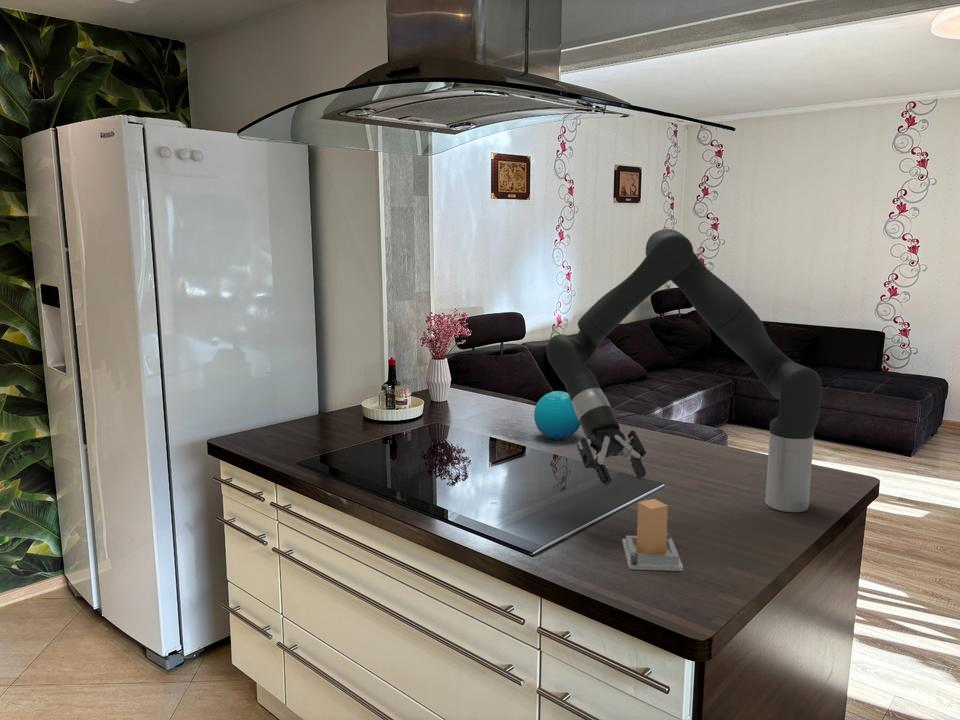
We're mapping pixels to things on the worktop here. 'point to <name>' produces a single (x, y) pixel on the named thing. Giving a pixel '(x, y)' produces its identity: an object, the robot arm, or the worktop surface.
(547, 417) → the decorative orb
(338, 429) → the worktop surface
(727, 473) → the worktop surface
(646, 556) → the plate
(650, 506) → the tan block
